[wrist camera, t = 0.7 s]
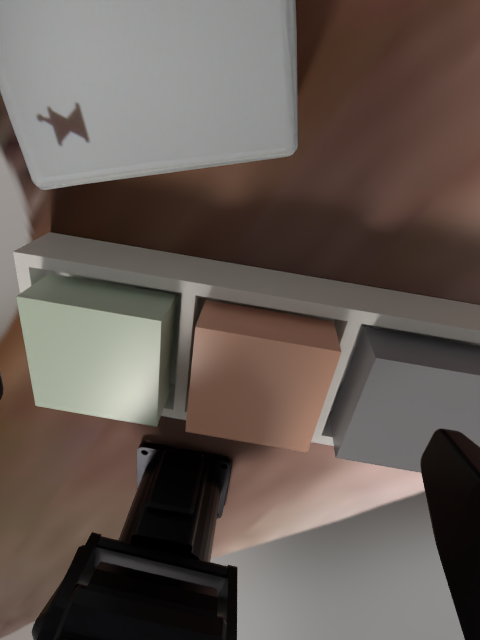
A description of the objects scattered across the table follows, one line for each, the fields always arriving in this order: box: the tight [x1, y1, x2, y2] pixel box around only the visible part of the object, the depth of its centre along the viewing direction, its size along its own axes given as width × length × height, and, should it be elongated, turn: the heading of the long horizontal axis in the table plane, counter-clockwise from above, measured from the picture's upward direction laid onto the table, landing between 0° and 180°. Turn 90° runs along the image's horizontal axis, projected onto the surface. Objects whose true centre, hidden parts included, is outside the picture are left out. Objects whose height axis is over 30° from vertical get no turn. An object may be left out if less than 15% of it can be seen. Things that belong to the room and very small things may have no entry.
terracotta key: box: [185, 300, 341, 453], centre depth 18 cm, size 6×6×2 cm
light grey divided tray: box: [13, 232, 480, 446], centre depth 19 cm, size 8×23×3 cm, turn 82°
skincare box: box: [0, 0, 298, 190], centre depth 9 cm, size 6×4×12 cm
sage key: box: [16, 273, 176, 427], centre depth 18 cm, size 6×6×2 cm
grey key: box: [330, 327, 480, 472], centre depth 18 cm, size 6×6×2 cm
